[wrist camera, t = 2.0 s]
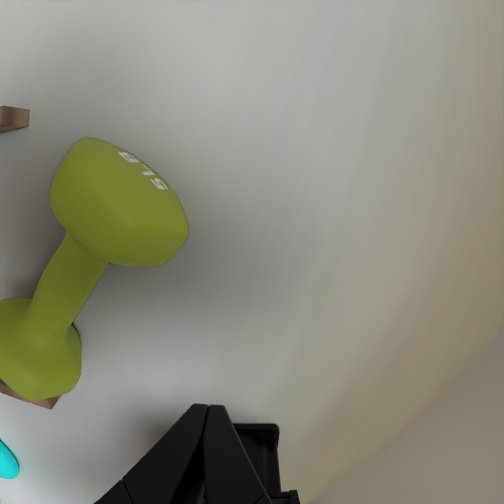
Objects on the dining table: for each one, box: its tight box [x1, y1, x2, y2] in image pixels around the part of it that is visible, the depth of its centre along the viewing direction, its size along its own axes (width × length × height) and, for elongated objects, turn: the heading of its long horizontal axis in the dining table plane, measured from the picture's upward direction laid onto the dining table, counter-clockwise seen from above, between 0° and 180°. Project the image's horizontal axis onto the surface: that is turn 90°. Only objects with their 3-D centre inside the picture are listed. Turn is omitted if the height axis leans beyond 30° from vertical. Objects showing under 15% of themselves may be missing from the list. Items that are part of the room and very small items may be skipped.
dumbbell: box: [0, 138, 189, 400], centre depth 16 cm, size 16×8×7 cm, turn 138°
